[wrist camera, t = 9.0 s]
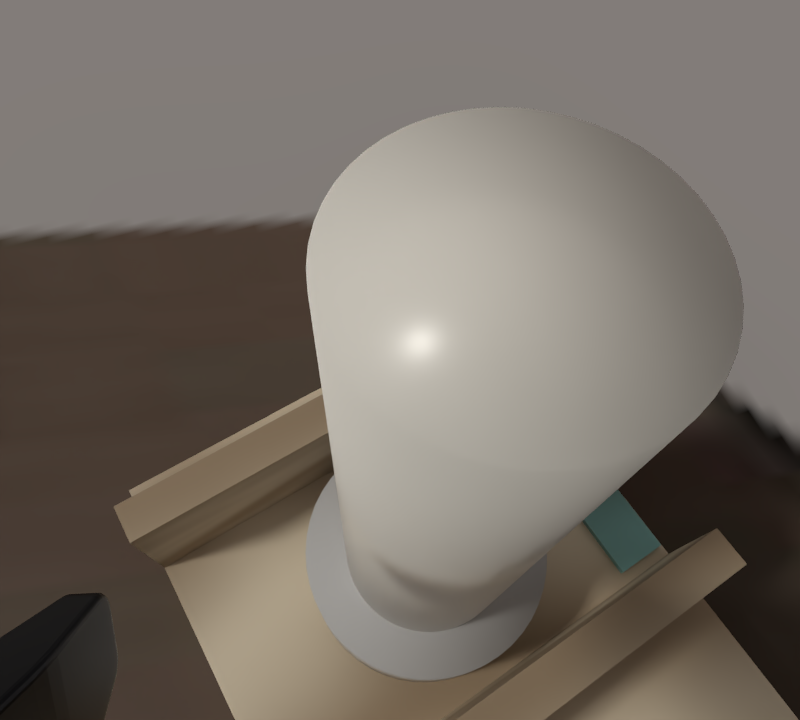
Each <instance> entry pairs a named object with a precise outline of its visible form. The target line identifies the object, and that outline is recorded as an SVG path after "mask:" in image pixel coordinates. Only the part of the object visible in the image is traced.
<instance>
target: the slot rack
mask: <svg viewBox="0 0 800 720" xmlns="http://www.w3.org/2000/svg"><path fill="white" fill-rule="evenodd" d="M333 475H334V468H333V461H332V454H331V447H330V441H329V434H328V427H327V420H326V413H325V407H324V400H323V393H322V388H320V389H318V390H316V391H314V392H312V393H311V394H309V395H307V396H305V397H303V398H301V399H299V400H297V401H296V402H294V403H292V404H290V405H288V406H286V407H284V408H282V409H281V410H279V411H277V412H275V413H273V414H271V415H269V416H268V417H266V418H264V419H262V420H260V421H258V422H256V423H254V424H253V425H251V426H249V427H247V428H245V429H243V430H241V431H239V432H238V433H236V434H234V435H232V436H230V437H228V438H226V439H225V440H223V441H221V442H219V443H217V444H215V445H213V446H211V447H210V448H208V449H206V450H204V451H202V452H200V453H198V454H196V455H195V456H193V457H191V458H189V459H187V460H185V461H183V462H182V463H180V464H178V465H176V466H174V467H172V468H170V469H168V470H167V471H165V472H163V473H161V474H159V475H157V476H155V477H154V478H152V479H150V480H148V481H146V482H144V483H142V484H140V485H139V486H137V487H135V488H133V489H131V490H129V492H130V494H131V496H132V497H131V498H129V499H127V500H125V501H123V502H121V503H119V504H118V505H116V506H114V509H115V511H116V513H117V515H118V518H119V520H120V522H121V524H122V527H123V529H124V531H125V533H126V535H127V538H128V540H129V542H130V543H131V544H132V545H133V546H135V547H136V548H138V549H139V550H140V551H142V552H143V553H145V554H146V555H148V556H149V557H150V558H152V559H153V560H155V561H156V562H157V563H159V564H160V565H162V566H163V567H165V569H166V571H167V574H168V576H169V578H170V580H171V582H172V584H173V587H174V589H175V591H176V593H177V595H178V597H179V600H180V602H181V604H182V606H183V608H184V610H185V613H186V615H187V617H188V619H189V621H190V623H191V626H192V628H193V630H194V632H195V634H196V636H197V638H198V641H199V643H200V645H201V647H202V649H203V651H204V654H205V656H206V658H207V660H208V662H209V664H210V667H211V669H212V671H213V673H214V675H215V677H216V680H217V682H218V684H219V686H220V688H221V690H222V692H223V695H224V697H225V699H226V701H227V703H228V705H229V708H230V710H231V712H232V714H233V716H234V718H235V720H798V718H797V717H796V716H795V714H794V713H793V712H792V711H791V709H790V708H789V707H788V706H787V704H786V703H785V702H784V700H783V699H782V698H781V697H780V695H779V694H778V693H777V692H776V690H775V689H774V688H773V686H772V685H771V684H770V683H769V681H768V680H767V679H766V678H765V676H764V675H763V674H762V672H761V671H760V670H759V669H758V667H757V666H756V665H755V663H754V662H753V661H752V660H751V658H750V657H749V656H748V655H747V653H746V652H745V651H744V649H743V648H742V647H741V646H740V644H739V643H738V642H737V641H736V639H735V638H734V637H733V635H732V634H731V633H730V632H729V630H728V629H727V628H726V627H725V625H724V624H723V623H722V621H721V620H720V619H719V618H718V616H717V615H716V614H715V612H714V611H713V610H712V609H711V607H710V606H709V605H708V604H707V602H706V601H705V600H704V597H705V596H706V595H707V594H709V593H710V592H711V591H713V590H714V589H715V588H717V587H718V586H719V585H721V584H722V583H723V582H724V581H726V580H727V579H728V578H730V577H731V576H732V575H734V574H735V573H736V572H737V571H739V570H740V569H741V568H743V567H744V566H745V565H747V564H746V562H745V561H744V560H743V559H742V558H741V556H740V555H739V554H738V553H737V552H736V550H735V549H734V548H733V547H732V546H731V544H730V543H729V542H728V541H727V539H726V538H725V537H724V536H723V535H722V533H721V532H720V531H719V530H718V529H717V528H716V529H714V530H712V531H710V532H709V533H707V534H705V535H703V536H701V537H699V538H697V539H695V540H694V541H692V542H690V543H688V544H686V545H684V546H682V547H680V548H678V549H677V550H675V551H673V552H671V553H669V554H668V553H667V551H666V550H665V549H664V547H663V546H662V545H661V544H660V542H659V541H658V540H657V539H656V537H655V536H654V535H653V533H652V532H651V531H650V530H649V528H648V527H647V526H646V525H645V523H644V522H643V521H642V519H641V518H640V517H639V516H638V514H637V513H636V512H635V510H634V509H633V508H632V507H631V505H630V504H629V503H628V502H627V500H626V499H625V498H624V496H623V495H622V494H621V493H620V491H619V490H618V489H617V490H616V491H615V492H614V493H613V494H612V495H611V496H610V497H608V498H607V499H606V500H605V501H604V502H603V503H602V504H601V505H600V506H598V507H597V508H596V509H595V510H594V511H593V512H592V513H591V514H590V515H588V516H587V517H586V518H585V519H584V520H583V521H582V522H581V523H580V524H578V525H577V526H576V527H575V528H574V529H573V530H572V531H571V532H570V533H568V534H567V535H566V536H565V537H564V538H563V539H562V540H561V541H560V542H558V543H557V544H556V545H555V546H554V547H553V548H552V549H551V550H550V551H548V552H547V571H546V578H545V584H544V589H543V592H542V595H541V599H540V602H539V605H538V607H537V609H536V611H535V613H534V615H533V617H532V619H531V621H530V622H529V624H528V626H527V627H526V629H525V630H524V632H523V633H522V634H521V635H520V637H519V638H518V639H517V640H516V641H515V642H514V643H513V645H512V646H510V647H509V648H508V649H507V650H506V651H505V652H504V653H502V654H501V655H500V656H499V657H497V658H496V659H494V660H492V661H491V662H489V663H488V664H486V665H484V666H482V667H480V668H478V669H476V670H473V671H471V672H469V673H466V674H464V675H461V676H459V677H455V678H452V679H448V680H444V681H437V682H410V681H403V680H398V679H395V678H392V677H388V676H385V675H383V674H381V673H378V672H376V671H374V670H372V669H370V668H369V667H367V666H366V665H364V664H362V663H361V662H359V661H358V660H357V659H355V658H354V657H353V656H352V655H351V654H350V653H349V652H347V651H346V650H345V649H344V647H343V646H342V645H341V644H340V643H339V642H338V641H337V639H336V638H335V637H334V635H333V634H332V632H331V631H330V629H329V628H328V626H327V624H326V622H325V620H324V618H323V616H322V614H321V612H320V610H319V608H318V606H317V604H316V602H315V599H314V596H313V593H312V590H311V587H310V584H309V579H308V574H307V568H306V539H307V532H308V527H309V522H310V519H311V516H312V513H313V510H314V507H315V504H316V502H317V500H318V498H319V496H320V494H321V492H322V491H323V489H324V488H325V486H326V485H327V483H328V482H329V480H330V479H331V478H332V476H333Z"/></svg>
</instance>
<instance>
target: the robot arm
mask: <svg viewBox="0 0 800 720" xmlns="http://www.w3.org/2000/svg"><path fill="white" fill-rule="evenodd" d="M117 667H118V653H117V646H116V640H115V634H114V628H113V622H112V616H111V610H110V605H109V602H108V599H107V597H106V596H105V595H103V594H102V593H86V594H69V595H66V596H64V597H62V598H60V599H59V600H57V601H56V602H54V603H53V604H51V605H50V606H48V607H47V608H45V609H44V610H42V611H41V612H39V613H38V614H36V615H34V616H33V617H31V618H30V619H28V620H27V621H25V622H24V623H22V624H21V625H19V626H18V627H16V628H15V629H13V630H12V631H10V632H8V633H7V634H5V635H4V636H2V637H1V638H0V720H104V719H105V715H106V711H107V708H108V704H109V700H110V697H111V693H112V689H113V686H114V682H115V678H116V674H117Z"/></svg>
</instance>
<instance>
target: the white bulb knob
mask: <svg viewBox="0 0 800 720" xmlns="http://www.w3.org/2000/svg"><path fill="white" fill-rule="evenodd" d="M306 276H307V290H308V298H309V305H310V312H311V319H312V325H313V332H314V339H315V346H316V352H317V359H318V366H319V373H320V380H321V386H322V393H323V400H324V407H325V413H326V420H327V427H328V434H329V441H330V447H331V454H332V461H333V468H334V475H333V476H332V478H331V479H330V480H329V482H328V483H327V485H326V486H325V488H324V489H323V491H322V492H321V494H320V496H319V498H318V500H317V502H316V504H315V507H314V510H313V513H312V516H311V519H310V522H309V527H308V532H307V539H306V568H307V574H308V579H309V584H310V587H311V590H312V593H313V596H314V599H315V602H316V604H317V606H318V608H319V610H320V612H321V614H322V616H323V618H324V620H325V622H326V624H327V626H328V628H329V629H330V631H331V632H332V634H333V635H334V637H335V638H336V639H337V641H338V642H339V643H340V644H341V645H342V646H343V647H344V649H345V650H346V651H347V652H349V653H350V654H351V655H352V656H353V657H354V658H355V659H357V660H358V661H359V662H361V663H362V664H364V665H366V666H367V667H369V668H370V669H372V670H374V671H376V672H378V673H381V674H383V675H385V676H388V677H392V678H395V679H398V680H403V681H410V682H437V681H444V680H448V679H452V678H455V677H459V676H461V675H464V674H466V673H469V672H471V671H473V670H476V669H478V668H480V667H482V666H484V665H486V664H488V663H489V662H491V661H492V660H494V659H496V658H497V657H499V656H500V655H501V654H502V653H504V652H505V651H506V650H507V649H508V648H509V647H510V646H512V645H513V643H514V642H515V641H516V640H517V639H518V638H519V637H520V635H521V634H522V633H523V632H524V630H525V629H526V627H527V626H528V624H529V622H530V621H531V619H532V617H533V615H534V613H535V611H536V609H537V607H538V605H539V602H540V599H541V595H542V592H543V589H544V584H545V578H546V571H547V552H548V551H550V550H551V549H552V548H553V547H554V546H555V545H556V544H557V543H558V542H560V541H561V540H562V539H563V538H564V537H565V536H566V535H567V534H568V533H570V532H571V531H572V530H573V529H574V528H575V527H576V526H577V525H578V524H580V523H581V522H582V521H583V520H584V519H585V518H586V517H587V516H588V515H590V514H591V513H592V512H593V511H594V510H595V509H596V508H597V507H598V506H600V505H601V504H602V503H603V502H604V501H605V500H606V499H607V498H608V497H610V496H611V495H612V494H613V493H614V492H615V491H616V490H617V489H619V488H620V487H621V486H622V485H623V484H624V483H625V482H626V481H627V480H629V479H630V478H631V477H632V476H633V475H634V474H635V473H636V472H637V471H639V470H640V469H641V468H642V467H643V466H644V465H645V464H646V463H647V462H649V461H650V460H651V459H652V458H653V457H654V456H655V455H656V454H657V453H659V452H660V451H661V450H662V449H663V448H664V447H665V446H666V445H667V444H669V443H670V442H671V441H672V440H673V439H674V438H675V437H676V436H677V435H679V434H680V433H681V432H682V431H683V430H684V429H685V428H686V427H687V426H689V425H690V424H691V423H692V422H693V421H694V420H695V419H696V418H697V417H698V416H699V415H700V414H701V413H702V412H703V411H704V409H705V408H706V407H707V406H708V405H709V404H710V403H711V401H712V400H713V399H714V398H715V397H716V395H717V393H718V392H719V390H720V388H721V387H722V385H723V384H724V382H725V380H726V379H727V377H728V375H729V373H730V370H731V368H732V365H733V363H734V360H735V358H736V355H737V353H738V348H739V343H740V339H741V333H742V329H743V309H744V304H743V295H742V286H741V279H740V276H739V272H738V268H737V264H736V261H735V257H734V255H733V253H732V250H731V248H730V245H729V243H728V241H727V238H726V236H725V234H724V233H723V231H722V229H721V227H720V226H719V224H718V222H717V221H716V219H715V217H714V215H713V214H712V213H711V211H710V210H709V209H708V207H707V206H706V205H705V203H704V202H703V201H702V199H701V198H700V197H699V196H698V194H697V193H696V192H695V191H694V190H693V189H692V188H691V187H690V186H689V185H688V184H687V183H686V182H685V181H684V180H683V179H682V178H681V177H680V176H679V175H678V174H677V173H675V172H674V171H673V170H672V169H671V168H669V167H668V166H667V165H666V164H665V163H664V162H662V161H661V160H660V159H658V158H657V157H655V156H654V155H652V154H651V153H649V152H648V151H647V150H645V149H644V148H642V147H641V146H639V145H637V144H635V143H633V142H631V141H630V140H628V139H626V138H624V137H622V136H620V135H619V134H616V133H614V132H612V131H609V130H607V129H604V128H602V127H600V126H598V125H595V124H592V123H589V122H586V121H583V120H580V119H577V118H574V117H570V116H566V115H561V114H557V113H553V112H548V111H541V110H534V109H526V108H507V107H491V108H474V109H468V110H461V111H454V112H449V113H445V114H441V115H438V116H434V117H430V118H426V119H424V120H421V121H418V122H416V123H413V124H411V125H408V126H405V127H403V128H401V129H399V130H398V131H396V132H394V133H392V134H390V135H388V136H386V137H384V138H383V139H381V140H380V141H378V142H377V143H376V144H374V145H373V146H371V147H370V148H368V149H367V150H365V151H364V152H363V153H362V154H361V155H360V156H359V157H358V158H356V159H355V160H354V161H353V162H352V163H351V164H350V165H349V166H348V167H347V168H346V169H345V171H344V172H343V173H342V174H341V175H340V177H339V178H338V179H337V180H336V181H335V183H334V184H333V186H332V187H331V189H330V190H329V192H328V194H327V195H326V197H325V198H324V200H323V202H322V204H321V206H320V209H319V211H318V213H317V215H316V218H315V220H314V223H313V227H312V231H311V235H310V238H309V242H308V250H307V261H306Z"/></svg>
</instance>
